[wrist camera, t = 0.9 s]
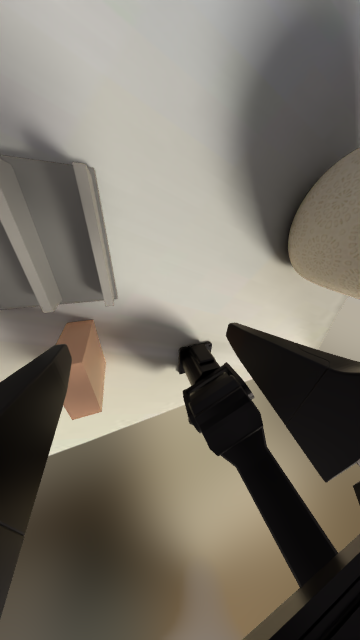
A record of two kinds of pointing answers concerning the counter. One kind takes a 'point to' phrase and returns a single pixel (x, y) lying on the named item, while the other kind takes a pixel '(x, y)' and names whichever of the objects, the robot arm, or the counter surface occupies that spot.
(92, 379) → the tall clay brick
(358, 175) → the planter
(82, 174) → the dish rack
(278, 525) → the robot arm
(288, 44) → the counter surface
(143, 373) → the counter surface
